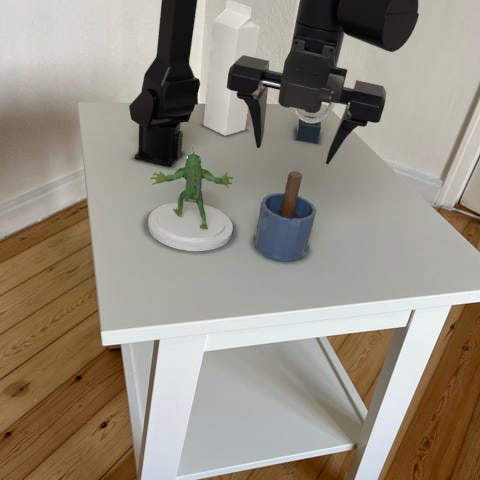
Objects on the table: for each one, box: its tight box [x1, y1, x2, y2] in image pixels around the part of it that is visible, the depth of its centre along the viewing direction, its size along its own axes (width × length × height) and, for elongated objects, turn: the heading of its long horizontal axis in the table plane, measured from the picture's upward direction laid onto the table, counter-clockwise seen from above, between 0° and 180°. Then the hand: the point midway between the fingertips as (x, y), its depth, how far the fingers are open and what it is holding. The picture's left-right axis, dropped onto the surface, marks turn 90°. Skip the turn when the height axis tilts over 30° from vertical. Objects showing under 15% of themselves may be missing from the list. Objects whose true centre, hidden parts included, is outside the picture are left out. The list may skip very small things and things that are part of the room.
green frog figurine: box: [147, 146, 234, 252], centre depth 76 cm, size 12×12×10 cm
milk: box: [203, 0, 261, 137], centre depth 103 cm, size 6×6×22 cm
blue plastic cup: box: [254, 192, 317, 262], centre depth 77 cm, size 7×7×6 cm
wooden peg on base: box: [272, 170, 303, 219], centre depth 75 cm, size 4×4×10 cm
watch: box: [294, 102, 336, 144], centre depth 109 cm, size 6×8×11 cm
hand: (292, 155), depth 73 cm, fingers open, 9 cm apart
